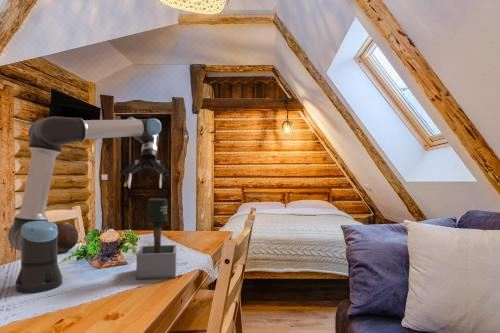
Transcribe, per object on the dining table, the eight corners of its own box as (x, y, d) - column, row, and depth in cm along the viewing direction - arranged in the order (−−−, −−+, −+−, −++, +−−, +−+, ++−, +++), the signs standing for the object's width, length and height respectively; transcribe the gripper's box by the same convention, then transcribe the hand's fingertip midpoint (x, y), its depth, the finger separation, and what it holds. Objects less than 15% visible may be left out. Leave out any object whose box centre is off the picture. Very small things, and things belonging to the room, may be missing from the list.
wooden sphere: (83, 248, 192) (83, 220, 192) (68, 255, 177) (69, 225, 177) (56, 248, 193) (56, 220, 193) (39, 255, 178) (39, 225, 178)
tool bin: (136, 280, 141) (136, 254, 141) (141, 269, 156) (141, 246, 156) (175, 278, 144) (175, 253, 144) (176, 267, 159) (176, 244, 159)
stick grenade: (162, 274, 145) (162, 200, 145) (142, 273, 147) (143, 199, 146) (171, 268, 153) (171, 198, 153) (152, 267, 155) (152, 198, 155)
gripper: (175, 159, 180) (173, 191, 165) (123, 158, 176) (116, 191, 161) (174, 148, 175) (173, 180, 160) (121, 147, 171) (114, 179, 156)
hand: (144, 186), depth 161 cm, fingers open, 13 cm apart
